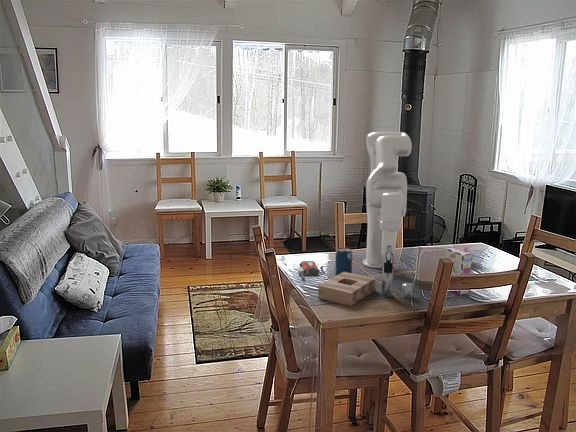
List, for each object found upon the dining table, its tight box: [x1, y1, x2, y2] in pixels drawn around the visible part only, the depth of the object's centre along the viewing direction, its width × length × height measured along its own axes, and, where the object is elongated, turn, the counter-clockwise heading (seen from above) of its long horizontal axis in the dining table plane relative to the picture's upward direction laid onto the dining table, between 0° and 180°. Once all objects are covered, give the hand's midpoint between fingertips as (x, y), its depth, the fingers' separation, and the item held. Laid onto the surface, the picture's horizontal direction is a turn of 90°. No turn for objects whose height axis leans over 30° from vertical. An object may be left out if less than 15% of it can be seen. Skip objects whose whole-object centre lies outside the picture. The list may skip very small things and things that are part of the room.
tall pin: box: [381, 267, 394, 298], centre depth 203 cm, size 4×4×11 cm
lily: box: [462, 244, 472, 252], centre depth 243 cm, size 12×12×10 cm
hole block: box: [317, 272, 376, 307], centre depth 204 cm, size 20×14×5 cm
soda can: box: [334, 247, 353, 276], centre depth 223 cm, size 7×7×12 cm
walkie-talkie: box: [297, 260, 320, 281], centre depth 229 cm, size 9×4×20 cm
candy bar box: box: [443, 246, 474, 296], centre depth 208 cm, size 11×5×16 cm, turn 22°
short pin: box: [401, 282, 414, 300], centre depth 202 cm, size 4×4×5 cm
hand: (388, 269), depth 201 cm, fingers open, 9 cm apart
